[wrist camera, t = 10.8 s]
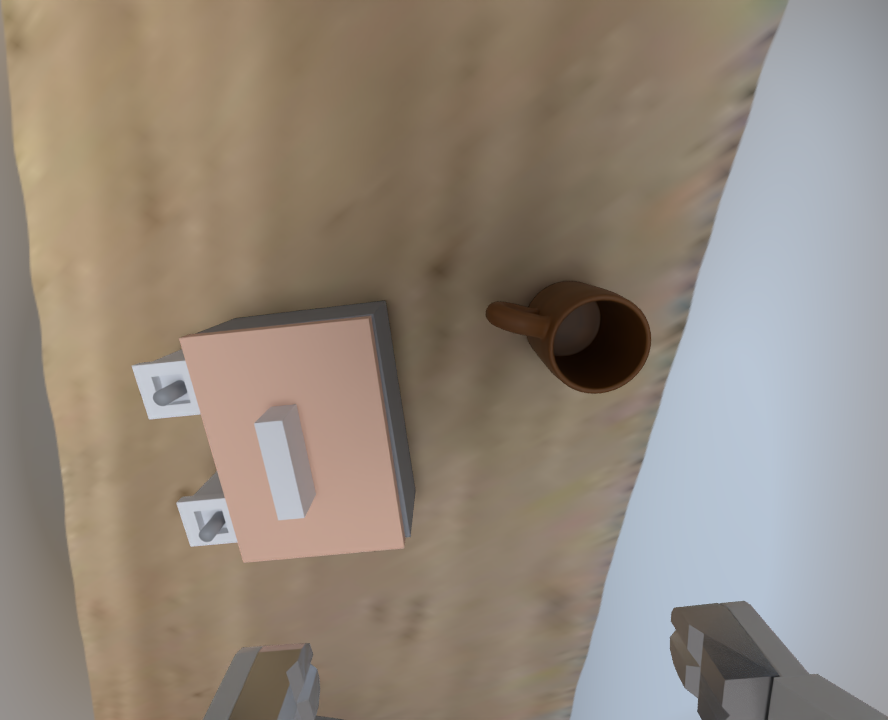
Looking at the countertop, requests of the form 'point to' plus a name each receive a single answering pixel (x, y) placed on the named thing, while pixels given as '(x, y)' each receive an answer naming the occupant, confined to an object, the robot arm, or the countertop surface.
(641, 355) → the mug
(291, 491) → the door
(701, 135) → the countertop surface
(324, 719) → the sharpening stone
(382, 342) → the cabinet
